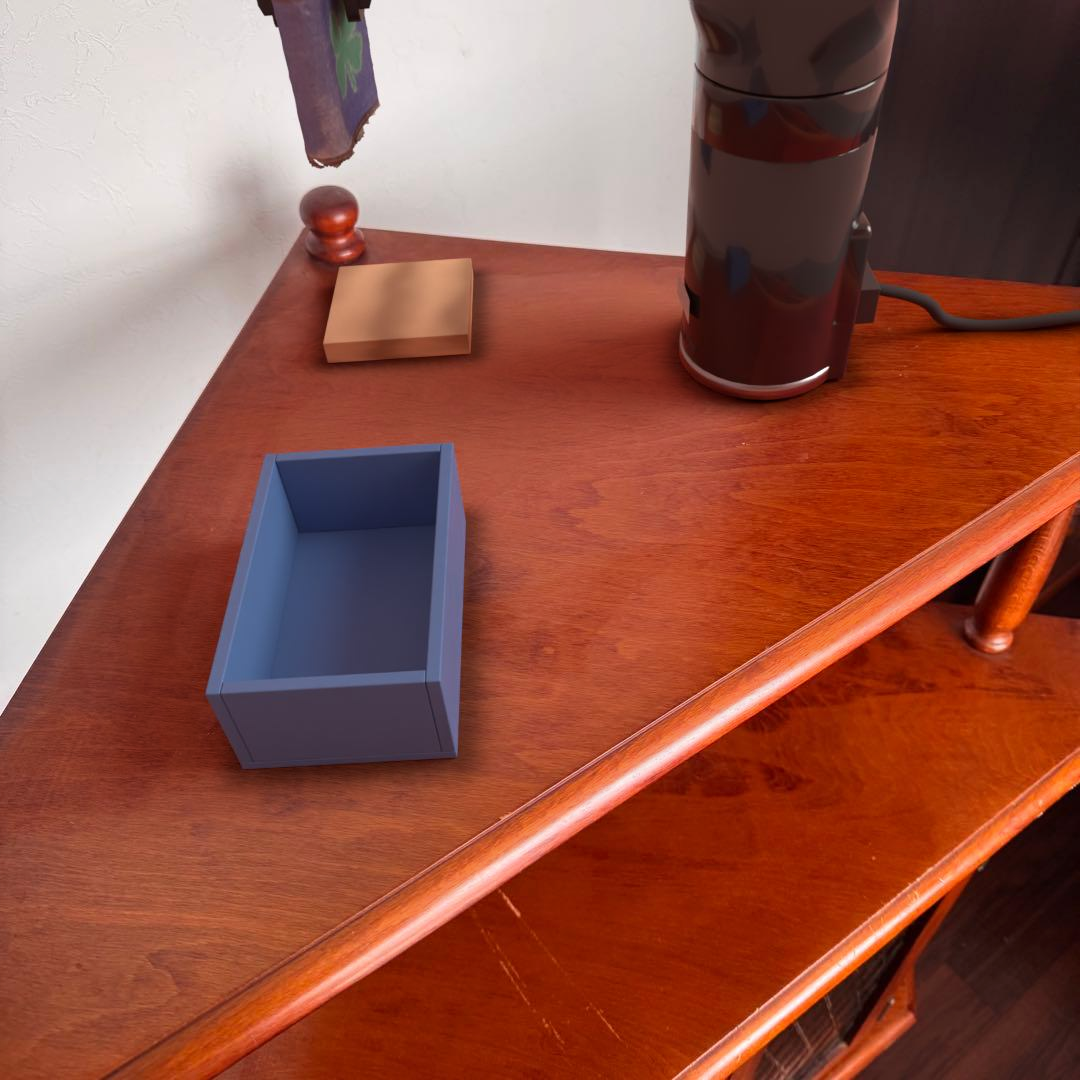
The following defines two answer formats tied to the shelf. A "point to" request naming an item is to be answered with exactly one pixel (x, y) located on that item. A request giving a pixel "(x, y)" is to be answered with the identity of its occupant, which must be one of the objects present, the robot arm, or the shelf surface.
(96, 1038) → the shelf surface
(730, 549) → the shelf surface
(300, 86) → the flask
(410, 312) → the board
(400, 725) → the bin
